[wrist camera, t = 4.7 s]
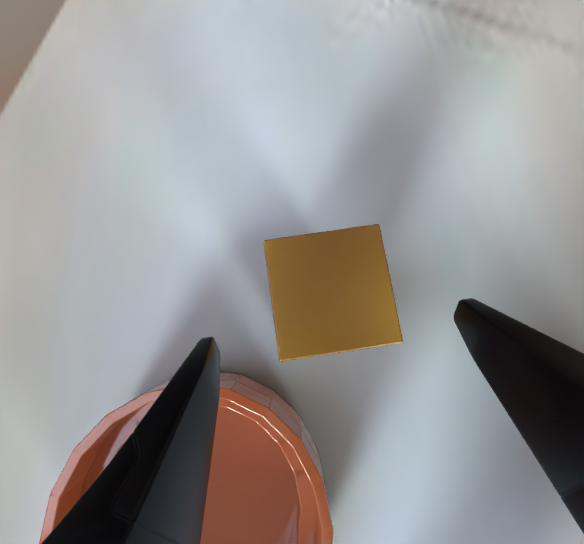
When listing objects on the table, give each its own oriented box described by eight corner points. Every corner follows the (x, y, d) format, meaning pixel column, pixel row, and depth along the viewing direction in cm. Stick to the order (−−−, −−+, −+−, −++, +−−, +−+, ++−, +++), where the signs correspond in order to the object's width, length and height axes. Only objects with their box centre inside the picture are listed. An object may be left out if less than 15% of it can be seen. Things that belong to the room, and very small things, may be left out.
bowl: (333, 384, 19) (344, 403, 15) (310, 639, 17) (316, 741, 13) (121, 357, 19) (77, 369, 15) (71, 605, 17) (4, 694, 13)
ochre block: (337, 266, 20) (379, 223, 10) (347, 327, 20) (404, 343, 10) (277, 275, 20) (262, 239, 10) (286, 336, 19) (279, 361, 10)
